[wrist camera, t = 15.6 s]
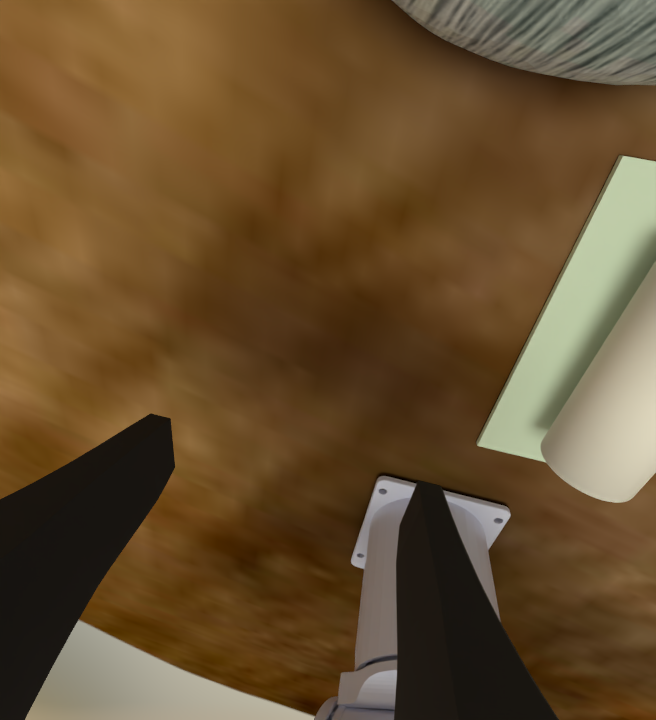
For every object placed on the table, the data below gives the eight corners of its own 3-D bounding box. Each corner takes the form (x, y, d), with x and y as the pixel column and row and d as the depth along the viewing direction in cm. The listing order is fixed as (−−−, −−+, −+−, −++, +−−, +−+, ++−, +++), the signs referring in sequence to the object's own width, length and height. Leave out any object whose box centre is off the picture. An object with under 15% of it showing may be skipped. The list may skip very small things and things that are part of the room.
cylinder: (612, 445, 19) (653, 513, 16) (531, 425, 20) (554, 487, 16) (766, 247, 14) (877, 287, 11) (650, 224, 14) (722, 256, 11)
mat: (627, 478, 20) (630, 482, 20) (476, 441, 21) (477, 445, 21) (865, 199, 13) (874, 200, 13) (619, 155, 14) (623, 155, 13)
